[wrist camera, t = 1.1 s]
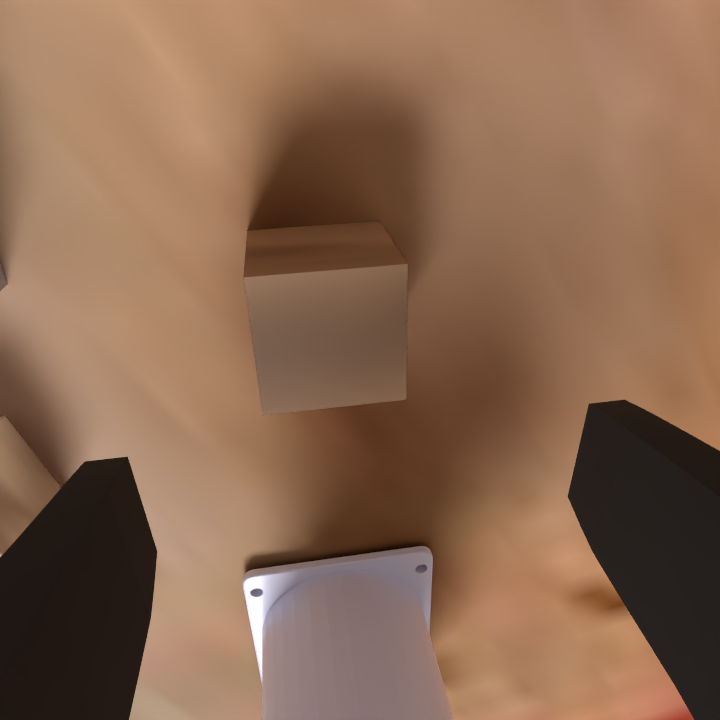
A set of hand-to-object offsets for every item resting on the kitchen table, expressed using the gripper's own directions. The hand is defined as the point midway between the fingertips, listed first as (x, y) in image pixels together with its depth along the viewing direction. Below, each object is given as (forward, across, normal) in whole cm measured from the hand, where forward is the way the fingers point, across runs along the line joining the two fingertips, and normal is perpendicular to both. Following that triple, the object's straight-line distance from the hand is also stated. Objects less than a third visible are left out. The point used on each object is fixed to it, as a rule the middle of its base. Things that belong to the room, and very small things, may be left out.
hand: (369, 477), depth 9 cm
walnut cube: (+10, 0, +1) cm, 10 cm away
